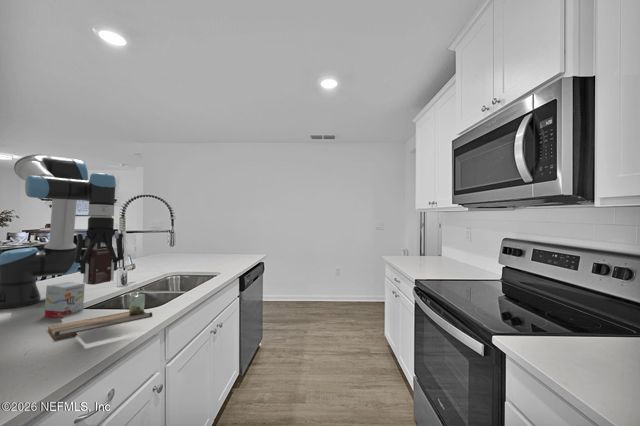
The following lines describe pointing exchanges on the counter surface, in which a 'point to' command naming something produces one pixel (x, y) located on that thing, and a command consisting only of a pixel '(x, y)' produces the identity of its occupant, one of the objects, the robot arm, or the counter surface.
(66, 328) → the shelf board
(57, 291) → the ink box
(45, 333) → the counter surface
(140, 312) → the green glass jar
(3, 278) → the robot arm
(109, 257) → the box
